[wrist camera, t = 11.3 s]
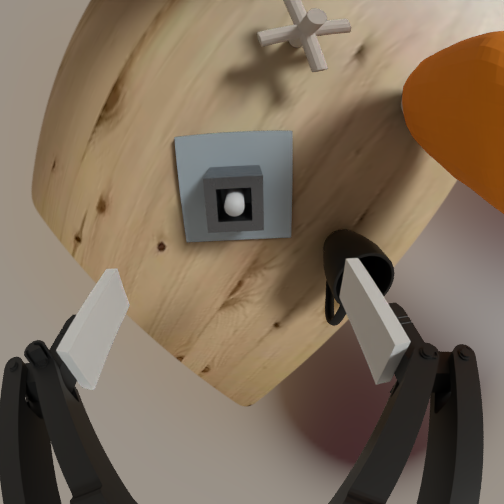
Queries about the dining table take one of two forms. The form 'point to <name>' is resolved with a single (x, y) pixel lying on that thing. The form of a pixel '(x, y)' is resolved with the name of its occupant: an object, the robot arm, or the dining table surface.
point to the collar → (234, 179)
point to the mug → (335, 256)
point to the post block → (236, 154)
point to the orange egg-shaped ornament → (462, 112)
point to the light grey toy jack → (305, 32)
